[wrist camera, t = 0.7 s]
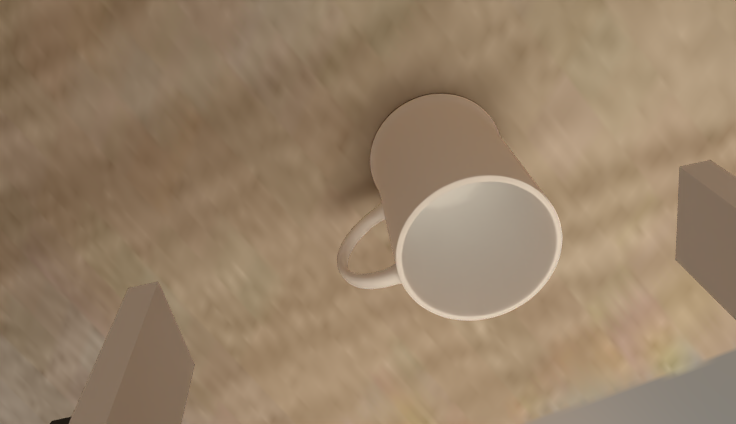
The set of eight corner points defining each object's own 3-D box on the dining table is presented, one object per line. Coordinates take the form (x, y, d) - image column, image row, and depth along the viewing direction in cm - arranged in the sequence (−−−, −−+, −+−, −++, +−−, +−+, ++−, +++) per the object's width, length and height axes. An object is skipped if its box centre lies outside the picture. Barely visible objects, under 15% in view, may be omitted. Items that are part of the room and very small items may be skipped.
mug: (357, 253, 43) (371, 371, 32) (300, 148, 39) (296, 244, 29) (517, 184, 42) (587, 286, 31) (475, 69, 38) (539, 139, 27)
